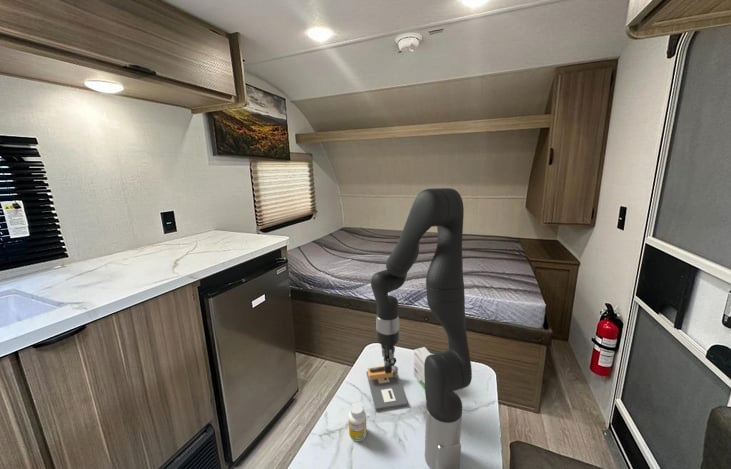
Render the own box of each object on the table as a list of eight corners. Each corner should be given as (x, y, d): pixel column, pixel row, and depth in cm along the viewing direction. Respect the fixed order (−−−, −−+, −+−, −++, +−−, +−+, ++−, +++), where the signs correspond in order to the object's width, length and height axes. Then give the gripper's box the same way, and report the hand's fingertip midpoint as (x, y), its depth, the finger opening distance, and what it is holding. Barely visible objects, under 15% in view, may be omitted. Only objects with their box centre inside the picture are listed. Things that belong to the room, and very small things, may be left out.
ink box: (436, 386, 106) (437, 359, 103) (424, 390, 104) (425, 362, 102) (423, 371, 114) (424, 345, 111) (412, 375, 112) (413, 349, 109)
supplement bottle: (355, 423, 92) (354, 398, 90) (370, 431, 89) (369, 405, 87) (345, 436, 88) (344, 410, 85) (360, 445, 85) (359, 418, 83)
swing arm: (399, 375, 108) (399, 368, 107) (369, 380, 106) (369, 372, 105) (396, 368, 112) (396, 361, 111) (367, 372, 110) (367, 365, 109)
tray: (407, 406, 98) (407, 399, 97) (375, 411, 96) (375, 404, 96) (393, 370, 115) (393, 364, 115) (366, 373, 114) (366, 368, 113)
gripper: (404, 337, 89) (404, 384, 93) (393, 315, 102) (393, 358, 106) (380, 340, 88) (381, 387, 92) (372, 318, 100) (373, 360, 105)
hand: (388, 371), depth 99 cm, fingers closed
